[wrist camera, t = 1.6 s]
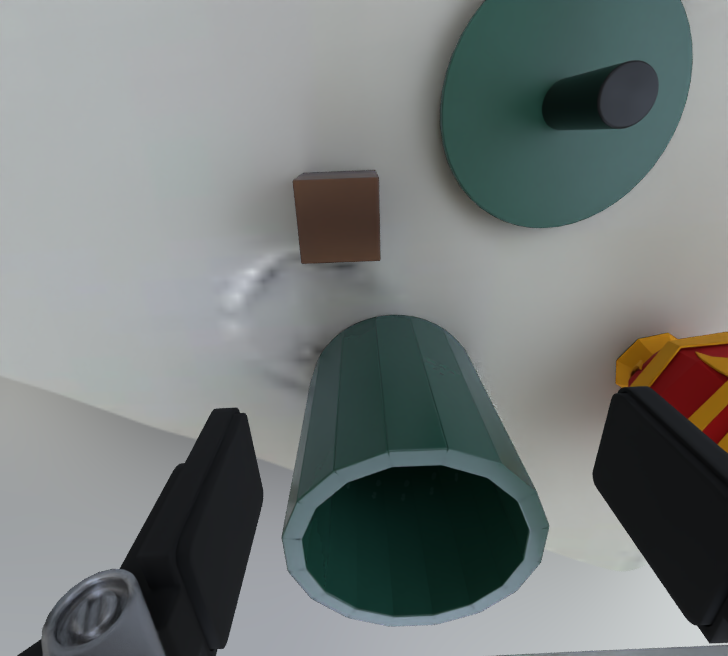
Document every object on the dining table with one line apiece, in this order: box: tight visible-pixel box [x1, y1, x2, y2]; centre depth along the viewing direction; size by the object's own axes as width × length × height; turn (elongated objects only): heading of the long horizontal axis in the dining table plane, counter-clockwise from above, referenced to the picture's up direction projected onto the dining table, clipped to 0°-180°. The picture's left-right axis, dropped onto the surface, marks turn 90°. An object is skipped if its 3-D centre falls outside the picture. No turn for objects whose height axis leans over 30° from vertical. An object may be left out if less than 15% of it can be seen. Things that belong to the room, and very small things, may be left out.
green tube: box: [282, 315, 549, 626], centre depth 24 cm, size 12×12×13 cm
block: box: [293, 170, 380, 264], centre depth 22 cm, size 4×4×4 cm
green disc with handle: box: [440, 0, 692, 228], centre depth 19 cm, size 13×13×7 cm
